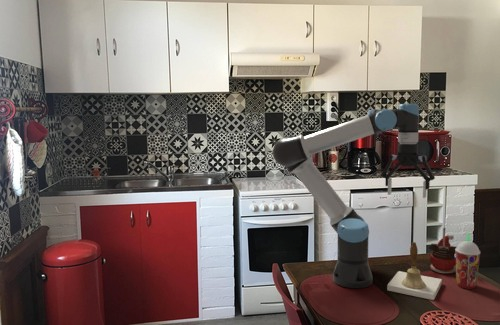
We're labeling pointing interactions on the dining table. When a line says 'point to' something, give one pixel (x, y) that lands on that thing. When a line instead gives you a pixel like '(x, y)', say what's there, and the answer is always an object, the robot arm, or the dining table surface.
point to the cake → (443, 255)
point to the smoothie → (467, 264)
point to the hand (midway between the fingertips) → (406, 195)
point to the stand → (427, 292)
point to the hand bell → (413, 272)
